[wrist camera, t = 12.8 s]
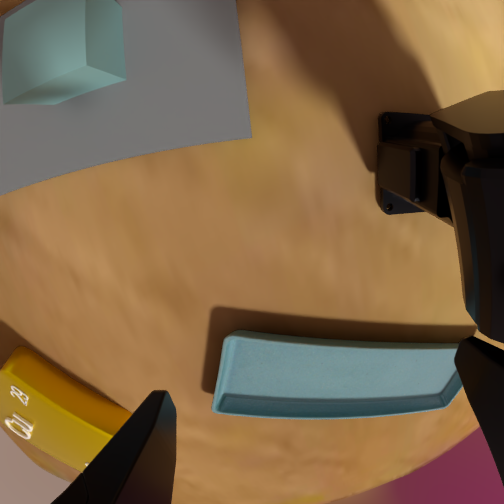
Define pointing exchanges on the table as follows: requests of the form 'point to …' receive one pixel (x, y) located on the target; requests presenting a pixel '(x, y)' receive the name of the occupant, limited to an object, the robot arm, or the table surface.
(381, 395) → the teal serving tray
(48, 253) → the table surface
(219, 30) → the slate mat
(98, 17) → the teal cube
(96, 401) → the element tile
